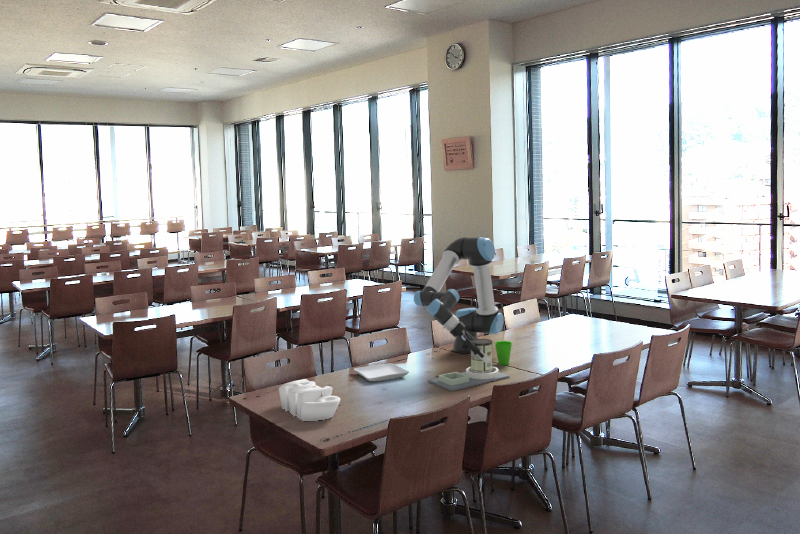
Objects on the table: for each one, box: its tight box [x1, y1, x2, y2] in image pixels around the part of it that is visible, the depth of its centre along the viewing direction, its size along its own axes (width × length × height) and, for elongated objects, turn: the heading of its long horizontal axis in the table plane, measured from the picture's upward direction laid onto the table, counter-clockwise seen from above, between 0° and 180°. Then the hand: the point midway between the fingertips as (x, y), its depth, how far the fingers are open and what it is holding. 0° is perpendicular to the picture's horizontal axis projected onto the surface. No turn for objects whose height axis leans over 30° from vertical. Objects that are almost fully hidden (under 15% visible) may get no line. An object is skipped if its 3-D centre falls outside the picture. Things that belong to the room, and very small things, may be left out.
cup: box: [494, 340, 513, 366], centre depth 340 cm, size 9×9×11 cm
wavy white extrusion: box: [278, 378, 341, 422], centre depth 277 cm, size 35×16×10 cm, turn 31°
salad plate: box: [353, 362, 410, 383], centre depth 326 cm, size 21×21×3 cm
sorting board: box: [428, 366, 510, 392], centre depth 315 cm, size 18×34×4 cm, turn 123°
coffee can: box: [470, 338, 494, 373], centre depth 318 cm, size 10×10×14 cm
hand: (488, 358), depth 318 cm, fingers closed on coffee can, 10 cm apart
